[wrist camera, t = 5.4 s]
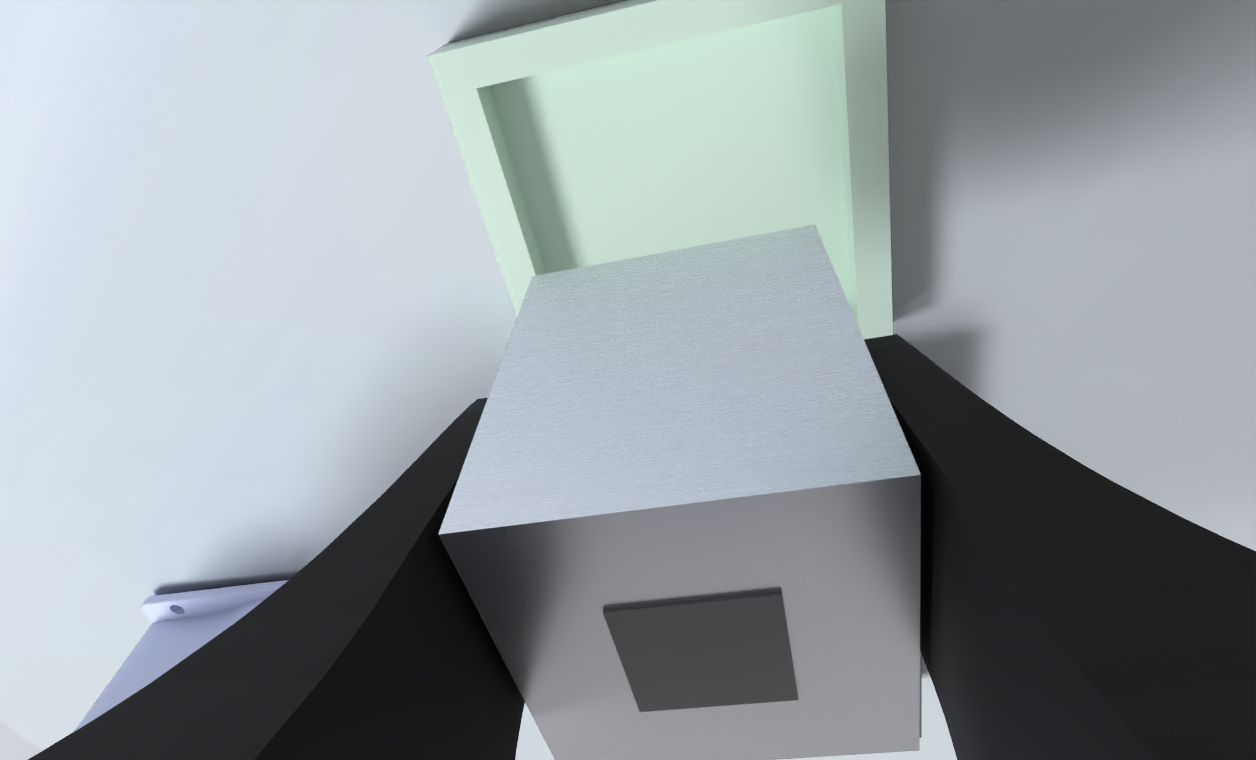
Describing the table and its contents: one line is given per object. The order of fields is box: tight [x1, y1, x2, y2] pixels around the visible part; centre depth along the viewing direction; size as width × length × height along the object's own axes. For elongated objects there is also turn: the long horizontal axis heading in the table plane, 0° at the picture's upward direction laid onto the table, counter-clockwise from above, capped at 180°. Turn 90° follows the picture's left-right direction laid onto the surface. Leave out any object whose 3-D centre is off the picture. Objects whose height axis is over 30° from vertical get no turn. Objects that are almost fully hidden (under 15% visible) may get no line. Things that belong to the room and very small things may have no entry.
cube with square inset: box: [438, 225, 921, 760], centre depth 10 cm, size 4×4×6 cm
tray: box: [426, 0, 893, 339], centre depth 17 cm, size 9×9×2 cm
